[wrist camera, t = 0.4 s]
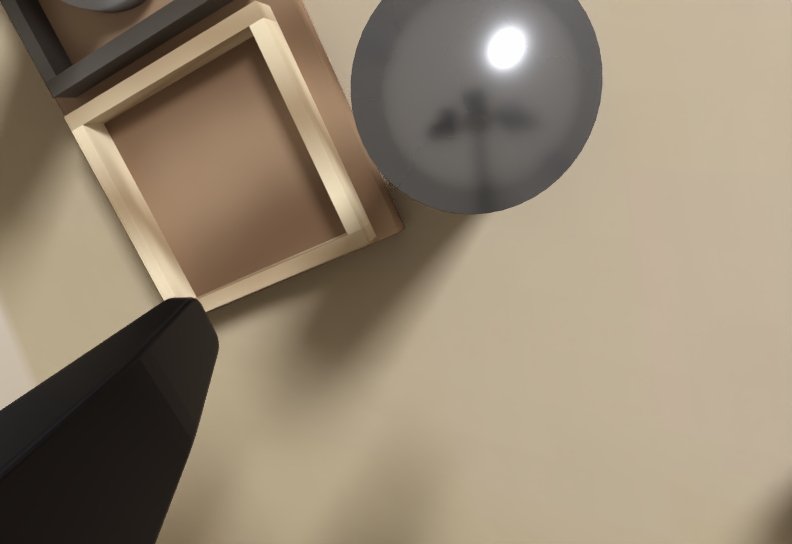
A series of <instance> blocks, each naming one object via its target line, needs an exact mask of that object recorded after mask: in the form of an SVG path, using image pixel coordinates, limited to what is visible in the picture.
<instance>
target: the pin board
mask: <svg viewBox="0 0 792 544" xmlns="http://www.w3.org/2000/svg"><path fill="white" fill-rule="evenodd" d="M0 1H1V3H2V5H3V7H4V9H5V10H6V12H7V14H8V16H9V18H10V20H11V21H12V23H13V25H14V27H15V29H16V31H17V32H18V34H19V36H20V38H21V40H22V42H23V43H24V45H25V47H26V49H27V51H28V53H29V54H30V56H31V58H32V60H33V62H34V64H35V65H36V67H37V69H38V71H39V73H40V75H41V76H42V78H43V80H44V82H45V84H46V86H47V87H48V89H49V91H50V93H51V95H52V96H53V98H55V99H56V101H57V103H58V104H59V106H60V108H61V110H62V112H63V114H64V115H65V117H64V118H65V120H66V122H67V124H68V126H69V128H70V129H71V131H72V133H73V135H74V137H75V139H76V140H77V142H78V144H79V146H80V148H81V150H82V151H83V153H84V155H85V157H86V159H87V161H88V162H89V164H90V166H91V168H92V170H93V172H94V173H95V175H96V177H97V179H98V181H99V182H100V184H101V186H102V188H103V190H104V192H105V193H106V195H107V197H108V199H109V201H110V203H111V204H112V206H113V208H114V210H115V212H116V214H117V215H118V217H119V219H120V221H121V223H122V225H123V226H124V228H125V230H126V232H127V234H128V236H129V237H130V239H131V241H132V243H133V245H134V247H135V248H136V250H137V252H138V254H139V256H140V258H141V259H142V261H143V263H144V265H145V267H146V268H147V270H148V272H149V274H150V276H151V278H152V279H153V281H154V283H155V285H156V287H157V289H158V290H159V292H160V294H161V296H162V298H163V300H164V301H165V300H166V299H169V298H174V297H193V298H196V299H197V300H198V301H200V303H201V304H202V306H203V308H204V310H205V312H206V313H208V312H210V311H213V310H215V309H218V308H220V307H222V306H225V305H227V304H229V303H232V302H234V301H237V300H239V299H241V298H244V297H246V296H249V295H251V294H253V293H256V292H258V291H261V290H263V289H265V288H268V287H270V286H273V285H275V284H277V283H280V282H282V281H284V280H287V279H289V278H292V277H294V276H296V275H299V274H301V273H304V272H306V271H308V270H311V269H313V268H316V267H318V266H320V265H323V264H325V263H328V262H330V261H332V260H335V259H337V258H339V257H342V256H344V255H347V254H349V253H351V252H354V251H356V250H359V249H361V248H363V247H366V246H368V245H371V244H373V243H375V242H378V241H380V240H382V239H385V238H387V237H390V236H392V235H394V234H397V233H399V232H400V231H401V230H402V229H403V228H404V225H403V223H402V221H401V219H400V216H399V214H398V212H397V210H396V208H395V205H394V203H393V201H392V199H391V197H390V194H389V192H388V190H387V188H386V186H385V183H384V181H383V179H382V177H381V174H380V172H379V170H378V168H377V167H376V165H375V164H374V162H373V161H372V160H371V158H370V157H369V155H368V153H367V151H366V149H365V147H364V145H363V144H362V141H361V138H360V136H359V133H358V131H357V128H356V124H355V120H354V116H353V113H352V110H351V108H350V106H349V104H348V102H347V99H346V97H345V95H344V93H343V91H342V88H341V86H340V84H339V82H338V79H337V77H336V75H335V73H334V71H333V68H332V66H331V64H330V62H329V60H328V57H327V55H326V53H325V51H324V49H323V46H322V44H321V42H320V40H319V37H318V35H317V33H316V31H315V29H314V26H313V24H312V22H311V20H310V18H309V15H308V13H307V11H306V9H305V7H304V4H303V2H302V0H0Z"/></svg>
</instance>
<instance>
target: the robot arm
mask: <svg viewBox="0 0 792 544" xmlns="http://www.w3.org/2000/svg"><path fill="white" fill-rule="evenodd" d="M218 350H219V341H218V336H217V334H216V332H215V330H214V328H213V326H212V324H211V322H210V320H209V318H208V316H207V314H206V312H205V310H204V308H203V306H202V304H201V303H200V301H198V300H197V299H196V298H193V297H174V298H169V299H166V300H165V301H163V302H162V303H160V304H159V305H157V306H156V307H154V308H153V309H151V310H150V311H148V312H147V313H145V314H144V315H142V316H141V317H139V318H138V319H136V320H135V321H133V322H132V323H130V324H129V325H127V326H126V327H124V328H123V329H121V330H120V331H118V332H117V333H115V334H114V335H112V336H111V337H109V338H108V339H106V340H105V341H103V342H102V343H100V344H99V345H97V346H96V347H94V348H93V349H91V350H90V351H88V352H87V353H85V354H84V355H82V356H81V357H80V358H78V359H77V360H75V361H74V362H72V363H71V364H69V365H68V366H66V367H65V368H63V369H62V370H60V371H59V372H57V373H56V374H54V375H53V376H51V377H50V378H48V379H47V380H45V381H44V382H42V383H41V384H39V385H38V386H36V387H35V388H33V389H32V390H30V391H29V392H27V393H26V394H24V395H23V396H21V397H20V398H18V399H17V400H15V401H14V402H12V403H11V404H9V405H8V406H6V407H5V408H3V409H2V410H0V544H155V543H156V540H157V538H158V535H159V532H160V530H161V527H162V525H163V522H164V519H165V517H166V514H167V512H168V509H169V506H170V504H171V501H172V498H173V496H174V493H175V491H176V488H177V485H178V483H179V480H180V478H181V475H182V472H183V470H184V467H185V465H186V462H187V459H188V457H189V454H190V451H191V448H192V445H193V442H194V439H195V436H196V433H197V429H198V426H199V422H200V418H201V415H202V411H203V407H204V403H205V400H206V396H207V392H208V388H209V385H210V381H211V377H212V373H213V370H214V366H215V362H216V358H217V355H218Z"/></svg>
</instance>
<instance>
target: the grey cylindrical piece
mask: <svg viewBox="0 0 792 544" xmlns="http://www.w3.org/2000/svg"><path fill="white" fill-rule="evenodd" d="M601 91H602V62H601V55H600V49H599V45H598V42H597V38H596V35H595V31H594V29H593V27H592V25H591V22H590V20H589V18H588V16H587V14H586V12H585V11H584V9H583V7H582V6H581V4H580V3H579V1H578V0H382V1H381V2H380V4H379V5H378V6H377V8H376V9H375V11H374V12H373V14H372V15H371V17H370V19H369V21H368V22H367V24H366V26H365V28H364V30H363V32H362V35H361V38H360V40H359V43H358V46H357V49H356V53H355V57H354V61H353V67H352V75H351V102H352V110H353V116H354V120H355V124H356V128H357V131H358V133H359V136H360V138H361V141H362V144H363V145H364V147H365V149H366V151H367V153H368V155H369V157H370V158H371V160H372V161H373V162H374V164H375V165H376V167H377V168H378V170H379V171H380V172H381V173H382V174H383V175H384V176H385V177H386V178H387V180H388V181H389V182H391V183H392V184H393V185H394V186H395V187H397V188H398V189H399V190H400V191H401V192H403V193H405V194H406V195H408V196H409V197H411V198H412V199H414V200H416V201H418V202H420V203H422V204H424V205H426V206H429V207H432V208H435V209H438V210H441V211H447V212H452V213H459V214H483V213H491V212H496V211H501V210H504V209H507V208H510V207H513V206H516V205H519V204H521V203H523V202H525V201H527V200H529V199H531V198H533V197H535V196H536V195H538V194H539V193H541V192H542V191H544V190H546V189H547V188H548V187H549V186H550V185H552V184H553V183H554V182H555V181H556V180H558V179H559V178H560V177H561V176H562V175H563V174H564V172H565V171H566V170H567V169H568V168H569V167H570V166H571V165H572V163H573V162H574V161H575V159H576V158H577V156H578V155H579V154H580V152H581V151H582V149H583V147H584V145H585V143H586V141H587V140H588V138H589V136H590V133H591V131H592V128H593V126H594V123H595V120H596V117H597V113H598V109H599V105H600V100H601Z"/></svg>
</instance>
